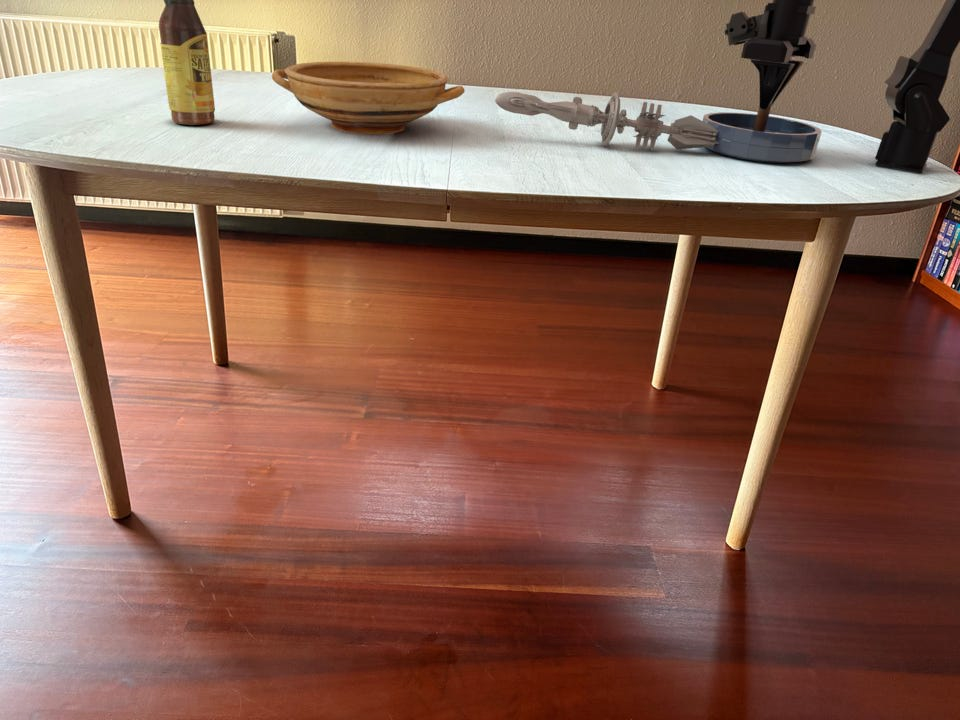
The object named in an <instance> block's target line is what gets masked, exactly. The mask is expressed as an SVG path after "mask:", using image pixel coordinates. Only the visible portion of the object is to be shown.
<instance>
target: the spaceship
mask: <svg viewBox="0 0 960 720" xmlns="http://www.w3.org/2000/svg"><path fill="white" fill-rule="evenodd" d="M494 101H495V104H496V105H497V106H498V107H499V108H500V109H502V110H505V111H507V112H509V113H513V114H518V115H524V116H532V117H533V116H537V115H541V114H545V115H549V116H551V117H552V118H555V119H557V120H559V121H561V122H564V123H568V129H569V130H573V131H575V130H577V129H578V127H579V125H581V126H587V127H591V128H592V127H595V126H596V125H600V136H601V145H602V146H603V147H608V146H609V144H610V142H611V141H612V140H613V138H614V135H615V132H616V130H617V134H623V132H624V130H625V127H626V128H627V127H628V128H633V129H634V132H635V133H637V134H635V135H632V137H633V138H635V147H634V148H636V149H640V147H641V141H643V142H642V150H647V148H648V144H649V141H650V144H649V151H652V152H653V151H654V150H655V145H656V142H657V140H658V139H659V138H658V137H661V136H662V134H666V135H668V138H667V142H668V143H669V144H670V145H671V146H673V148H675V149H676V150H690V149H701V148H706V146H714V144H720V143H719V142H717V141H716V140H715V139H716V137H715V136H716V134H717V133H718V130H716V129H715V128H714V127H713V126H711V125H709V124H707V123H705V122H703V120H701V119H699V118H698V117H696V116H694V115H692V114H691V115H687V116H684V117H681V118H677V119H675V120H674V122H671V123H670V125H667V124H664V121H663V120H660V119H663V117H665V116H666V115H665V114H662V107H663V105H662V104H657V106H656V107H657V108H656V111H655V103H652V102H651V103H650V105H649V110H648V111H647V108H648V101H643V102H642V107H641V112H640V113H639V115H638V116H637V117H636V119H631V118H628V117H627V110H626V109H621V98H620V93H619V92H618V91H615V92H613V93H612V95H611V97H610V99H609V100H608V101H607V104H606V106H605V109H604V111H602V110H600V108H599V107H598V106H596V105H594V104H584V103H583V99H582V97H580V96H574V97H573V98H572V101H567V100H564V101H555V102H554V101H553V102H547V101H544V100H542V99H541V98H540V97H538V96H537V95H532V94H528V93H522V92H516V91H507V92H505V91H504V92H501V93H499V94H497V95H496V96H495V98H494ZM642 139H643V140H642Z"/></svg>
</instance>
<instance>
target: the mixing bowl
mask: <svg viewBox="0 0 960 720" xmlns="http://www.w3.org/2000/svg"><path fill="white" fill-rule="evenodd" d="M756 116H757V113H747V112H727V111H725V112H720V111H719V112H709V113H705V114H703V116H702V121H703V122H705V123H707V124H709V125H711V126H713V127H714V128H715V129H716V130H718V133H717V134H716V136H715V137H716V139H715V140H716V141H717V142H719V143H720V144H714V146H706V147H705V148H706V149H709V150H711V151H712V152H714V153H716V154H720V155H723V156H727V157H730V158H734V159H739V160H745V161H751V162H758V163H759V162H760V163H768V164H792V163H797V162H800V163H801V162H806V161H811V160H812V159H814V158H815V156H816V152H817V149H818V145H819V142H820V138H821V136H822V133H823V132H822V130H821V128H820V127H818V126H815V125H814V124H813V125H812V124H809V123H807V122H803V121H800V120H799V121H798V120H794V119H789V118H784V117H779V116H773V115H769V117H768V121H767V125H766V128H765V132H763V131H755V130H753V128H754V124H755V120H756Z"/></svg>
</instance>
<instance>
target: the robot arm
mask: <svg viewBox="0 0 960 720" xmlns="http://www.w3.org/2000/svg"><path fill="white" fill-rule="evenodd" d="M814 3H815V0H772V2H767V4H766V5H765V7H764V11H763V13H762V14H758V15H752V16H750V17H749V16H748V14H747V13H746V12H745V11H739V12H736V13H733V14H731V16H730V19H729V21H728V23H726V24H725V26H726V27H725V30H724V33H723V34H724V35H725V36H727V42H728V47H729V46H738V45H742V46H743V47H742V51H741V55H740V58H741V59H746V60H750V63H751V64H752V65H754V67H755V69H757V72H758V74H759V75H758V76H759V105H760V108H761V109H767V108H768V106H769V105H770V103H771V102H772V100H773V102H772V106H773V105H774V104H775V102H776V101H777V99H778V98H779V97H780V95H782V92H783V91H784V90H785V88H786V87H787V86H788V84H789V83H790V81H791V80H792V79H793V77H794V76H795V75H796V74H797V72H798V71H799V70H800V69H801V67H802V66H803V65H804V61H801V60H800V61H799V60H796V57H800V58H801V57H802V58H805V59H808V60H809V59H813V58H814V54H815V50H816V47H817V45H816V43H815V42H814V40H813V38H809V37H808V36H806V32H807V29H808V26H809V21H810V18H811V15H814V14H815V11H816V8H817V7H816V6H815V5H814ZM941 7H942V8H941V9H940V11H939V13H938V14H937V16H936V18H935V19H934V22H933V24H932V25H931V27H930V29H929V31H928V32H927V35H926V36H925V38H924V40H923V42H922V43H921V45H920V46H919V47H918V48H917V50H916V51H915V52H914V53H913V54H912V55H911V56H910V57H908V56H904V55H900V56H898V58H897V61H896V63H895V66H894V69H893V71H892V73H891V74H890V76H889V77H888V78H887V79H886V80H885V81H884V84H885V85H887V87H886V89H885V95H884V97H885V101H886V103H887V105H888V107H890V108H891V109H892V120H893V122H891V124H890V126H889V129H888V130H886V131H885V132H883V134H882V137H881V139H880V143H879V146H878V149H877V151H876V154H875V156H874V159H875V160H876V161H875V164H874V165H876V166H879V167H885V168H890V169H896V170H901V171H906V172H907V171H908V172H912V173H919V174H922V173H923V172H924V171H925V169H926V168H927V167H928V164H927V162H928V160H929V156H930V154H931V153H932V149H933V146H934V144H935V141H936V139H937V136H938V134H939V133H940V132H941V131H942V130H943V129H944V128H945V127H946V125H947V124H948V123H949V121H951V120H950V119H951V117H950V116H949V114H948V113H947V111H946V109H945V108H944V106H943V104H942V103H941V102H940V97H941V95H942V93H943V90H944V88H945V85H946V82H947V79H948V76H949V72H950V67H951V62H952V57H953V55H954V54H955V51H956V49H957V48H958V46H959V44H960V0H945V2H944V3H943V5H942V6H941Z"/></svg>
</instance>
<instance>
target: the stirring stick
mask: <svg viewBox="0 0 960 720" xmlns="http://www.w3.org/2000/svg"><path fill="white" fill-rule="evenodd" d="M772 102H773V100H772ZM772 102H771V103H770V105H769V106H768V108H767V109H761V108H760V104H759V106H758V109H757V113H756V114H757V116H756V120H755V124H754V128H753V130H755V131H763V132H765V128H766V125H767V121H768V117H769V116H770V114H771V109H772V106H773V105H772Z"/></svg>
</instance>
